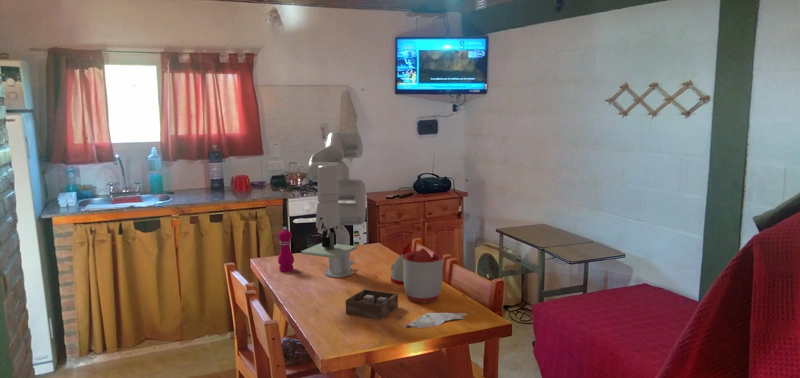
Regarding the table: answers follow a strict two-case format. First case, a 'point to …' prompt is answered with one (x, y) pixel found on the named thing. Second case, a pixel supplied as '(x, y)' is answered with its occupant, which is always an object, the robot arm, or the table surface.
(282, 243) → the pepper mill
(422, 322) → the cloth
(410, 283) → the citrus juicer
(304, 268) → the table surface
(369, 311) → the box
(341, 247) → the lid
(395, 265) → the kitchen timer
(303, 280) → the table surface
